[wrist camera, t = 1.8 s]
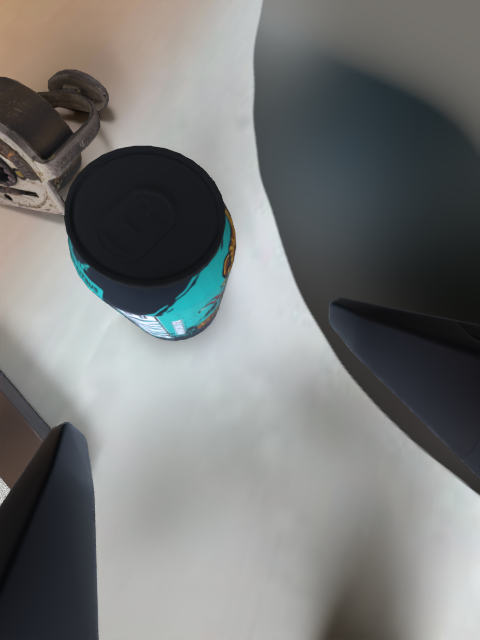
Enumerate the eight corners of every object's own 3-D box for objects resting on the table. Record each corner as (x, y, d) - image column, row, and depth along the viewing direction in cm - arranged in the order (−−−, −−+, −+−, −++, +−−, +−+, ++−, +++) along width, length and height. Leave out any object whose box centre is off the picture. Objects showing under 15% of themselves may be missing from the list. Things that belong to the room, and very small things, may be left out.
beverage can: (236, 294, 22) (277, 211, 11) (180, 360, 21) (155, 346, 9) (172, 241, 22) (142, 98, 11) (110, 302, 21) (-6, 212, 9)
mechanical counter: (-151, 98, 15) (-52, 176, 13) (9, -35, 17) (118, 14, 15) (-21, 188, 22) (57, 248, 20) (82, 87, 24) (164, 132, 22)
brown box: (91, 476, 18) (82, 486, 17) (52, 512, 18) (39, 525, 16) (-11, 357, 19) (-29, 356, 17) (-53, 387, 18) (-75, 389, 16)
